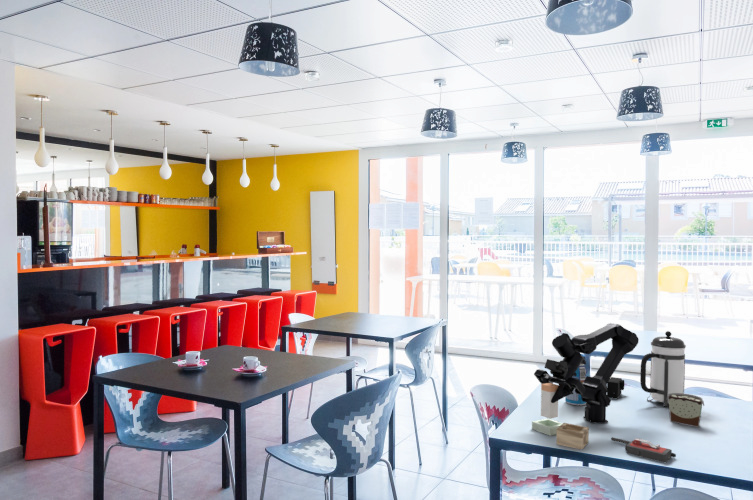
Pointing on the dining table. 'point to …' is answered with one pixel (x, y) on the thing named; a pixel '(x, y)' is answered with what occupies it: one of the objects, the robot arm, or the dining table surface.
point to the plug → (548, 401)
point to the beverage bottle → (575, 398)
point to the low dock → (546, 426)
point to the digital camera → (615, 387)
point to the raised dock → (572, 435)
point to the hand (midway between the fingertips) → (546, 400)
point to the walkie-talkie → (647, 450)
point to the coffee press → (664, 368)
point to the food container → (685, 408)
